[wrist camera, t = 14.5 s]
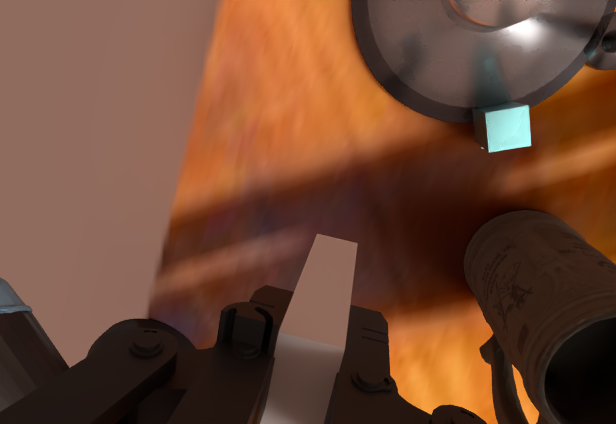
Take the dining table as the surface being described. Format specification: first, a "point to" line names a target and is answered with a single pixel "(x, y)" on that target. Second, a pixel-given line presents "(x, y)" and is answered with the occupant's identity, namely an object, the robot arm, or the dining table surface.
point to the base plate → (433, 107)
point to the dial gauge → (603, 46)
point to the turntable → (482, 59)
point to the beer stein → (546, 318)
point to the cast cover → (491, 13)
